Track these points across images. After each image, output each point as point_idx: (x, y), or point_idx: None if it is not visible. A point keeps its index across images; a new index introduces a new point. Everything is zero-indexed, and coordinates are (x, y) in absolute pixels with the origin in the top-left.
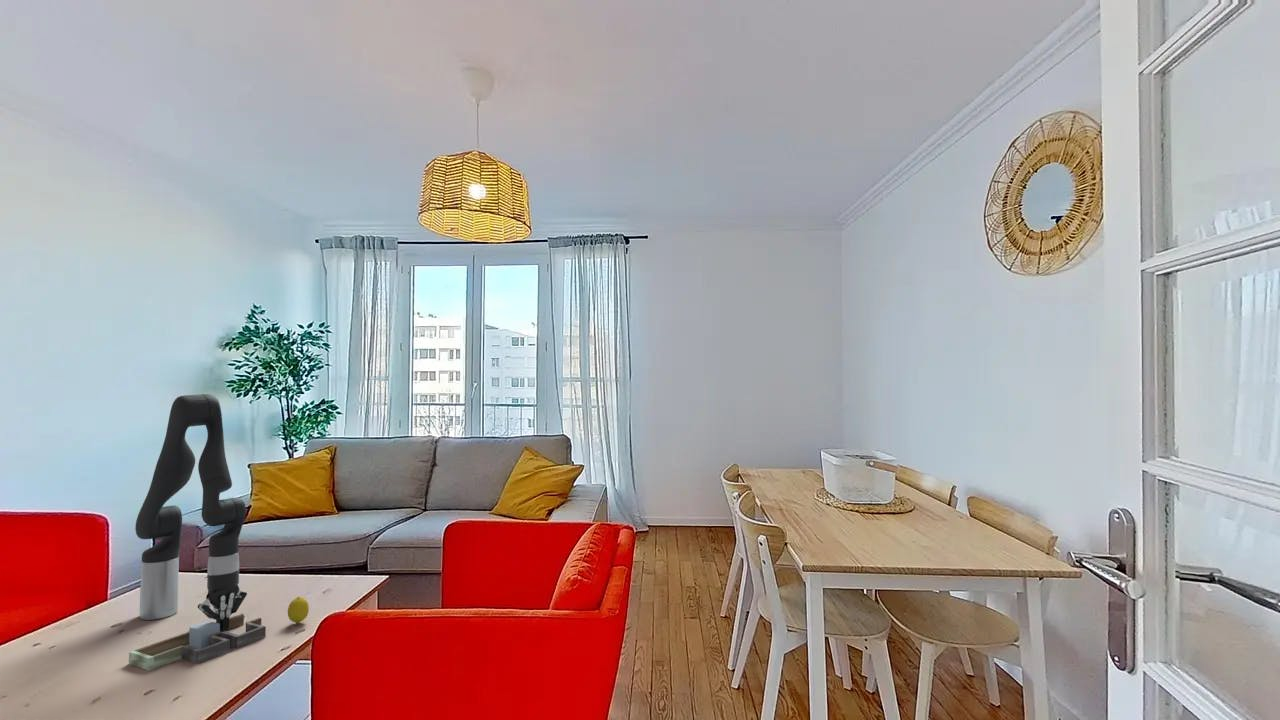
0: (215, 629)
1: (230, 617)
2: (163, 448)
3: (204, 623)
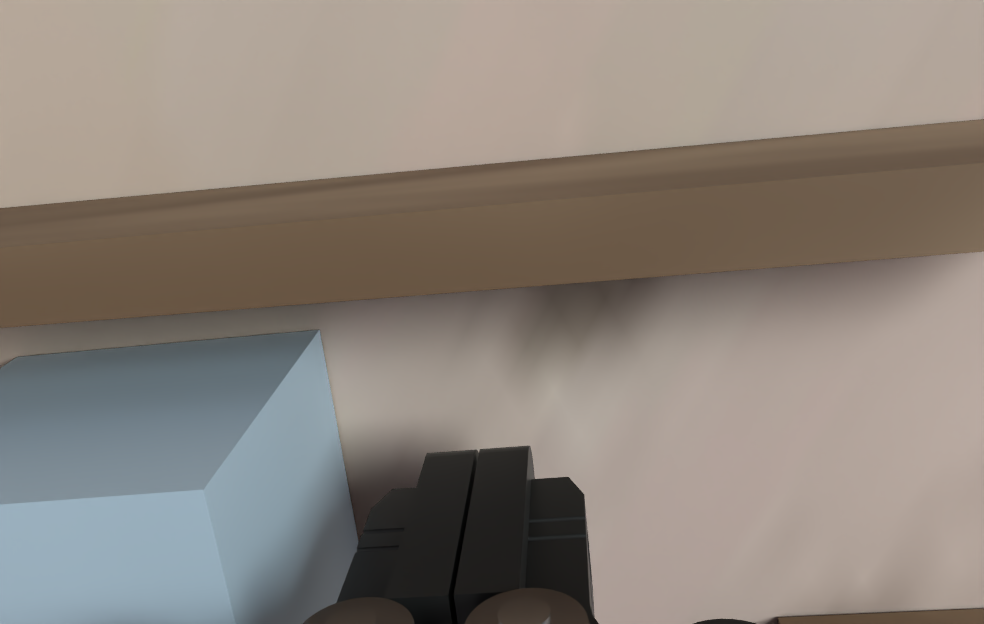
0: None
1: (893, 182)
2: None
3: (77, 577)
